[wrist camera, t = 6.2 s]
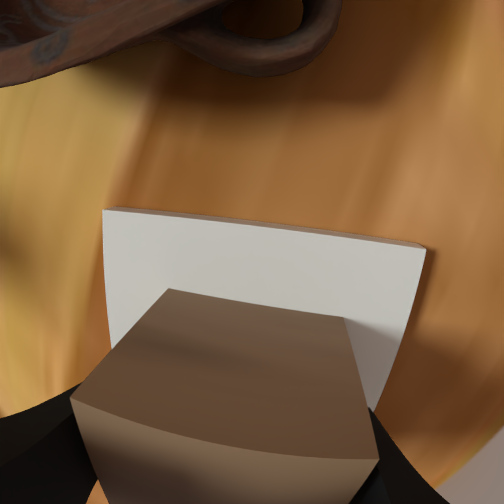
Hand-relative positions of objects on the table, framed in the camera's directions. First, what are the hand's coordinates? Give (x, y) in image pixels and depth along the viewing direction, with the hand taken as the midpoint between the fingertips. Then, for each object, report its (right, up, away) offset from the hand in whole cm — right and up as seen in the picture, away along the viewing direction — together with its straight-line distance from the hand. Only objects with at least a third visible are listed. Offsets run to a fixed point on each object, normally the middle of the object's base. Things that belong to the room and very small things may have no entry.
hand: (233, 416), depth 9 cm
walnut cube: (0, +1, +2) cm, 2 cm away
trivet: (0, +1, +3) cm, 3 cm away
